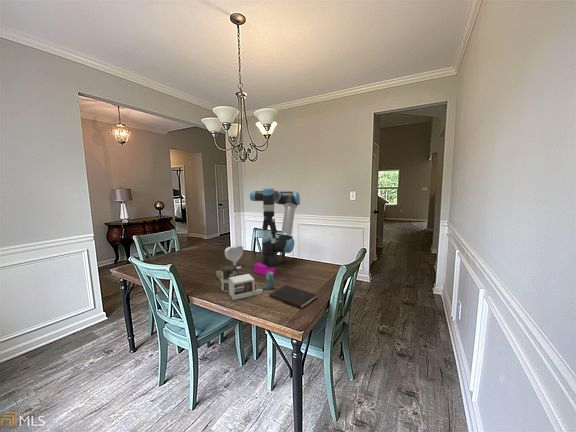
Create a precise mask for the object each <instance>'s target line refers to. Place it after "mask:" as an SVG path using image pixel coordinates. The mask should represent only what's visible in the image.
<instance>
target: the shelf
mask: <svg viewBox="0 0 576 432" xmlns="http://www.w3.org/2000/svg"><path fill="white" fill-rule="evenodd" d="M228 281H229V292H228V294H229V295H230V297H231V299H232V300H233V301H235V300H239V299H243V298H244V299H245V298H248V297H252V296H257V295H261V294H262V295H263V294H264V293H263V291H264V290H263V289H259V290H255V285H254V282H255V278H254V277H253V276H252V275H251V274H250V273H247V274H241V275H238V276H234V277H229V278H228ZM251 281H252V290H253V291H250V292H244V285H243V286H237V287H238V288H234V285H235V284H237V285H239V284H244V283H245V282H251ZM257 288H259V287H258V286H257ZM236 293H237V294H236Z"/></svg>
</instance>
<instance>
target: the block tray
mask: <svg viewBox="0 0 576 432" xmlns="http://www.w3.org/2000/svg"><path fill="white" fill-rule="evenodd" d="M215 275H216V277H217V279H218V280H219V282H220V283H221V270H216V271H215ZM237 276H239V275H238V274H237Z"/></svg>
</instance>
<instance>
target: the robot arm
mask: <svg viewBox="0 0 576 432" xmlns="http://www.w3.org/2000/svg"><path fill="white" fill-rule="evenodd" d="M249 199H250V201H251V202H262V205H263V206H262V208H263V213H262V214H263V221H262V228H261V229H262V230H263V237H262V239H261V249H262V250H261V251H262V252H261V257H260V258H261V259H260V262H259V263H261V264H263V265H265V266H267V267H273V266H274V267H275V266H277V265H279V259H278V258H279V257H278V256H277V253H284V254H290V253H291V252H293V250H294V248H295V239H294V237H293V235H292V232H293V226H294V217H295V213H296V212H295V211H296V209H297V208H298V206H300V204H301V197H300V194H299V192H298V191H295V190H294V191H291V190H289V191H287V190H286V191H278V190H275V189H274V188H273V187H266V188H263V189H262V190H251V191H250V193H249ZM275 204H277V205H282V206H283V207H284V213H283V219H282V226H281V230H280V232H281V233H280V234H279V235H278V237H277V236H276V234H277V233H278V231H277V230H278V229H277V226H276V219H275V218H273V217H275ZM268 229H270V235H269V233H268V232H269V231H268Z"/></svg>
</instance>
